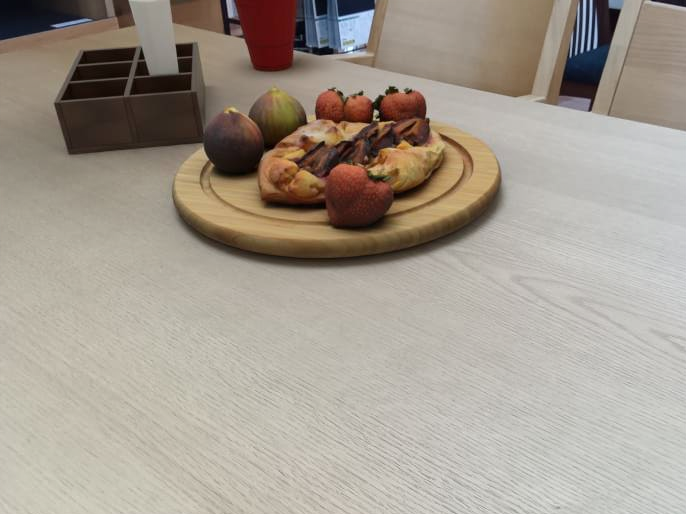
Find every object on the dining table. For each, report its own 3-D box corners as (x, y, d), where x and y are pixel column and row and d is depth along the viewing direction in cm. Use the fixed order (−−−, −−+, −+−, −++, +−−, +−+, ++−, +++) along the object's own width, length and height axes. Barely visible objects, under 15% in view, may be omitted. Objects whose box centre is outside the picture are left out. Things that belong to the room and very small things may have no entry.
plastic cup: (326, 64, 109) (319, -29, 102) (265, 80, 103) (254, -17, 96) (281, 51, 115) (272, -37, 108) (222, 66, 110) (208, -27, 102)
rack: (68, 154, 83) (53, 102, 79) (91, 94, 100) (79, 50, 97) (205, 142, 85) (196, 91, 82) (204, 85, 102) (197, 41, 99)
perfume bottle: (179, 99, 95) (154, -35, 86) (196, 107, 92) (171, -30, 83) (146, 107, 93) (116, -30, 83) (162, 116, 90) (132, -25, 81)
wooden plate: (510, 269, 61) (519, 171, 56) (127, 264, 63) (102, 169, 58) (492, 131, 86) (497, 54, 81) (219, 131, 88) (207, 56, 83)
